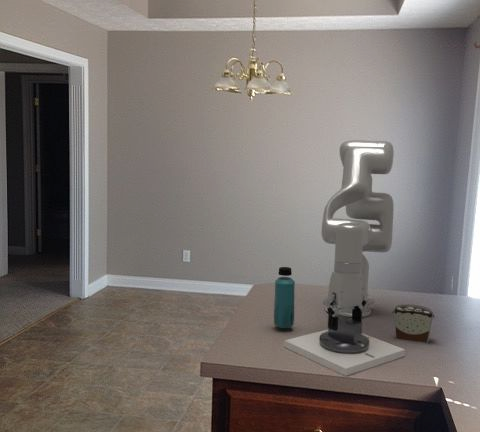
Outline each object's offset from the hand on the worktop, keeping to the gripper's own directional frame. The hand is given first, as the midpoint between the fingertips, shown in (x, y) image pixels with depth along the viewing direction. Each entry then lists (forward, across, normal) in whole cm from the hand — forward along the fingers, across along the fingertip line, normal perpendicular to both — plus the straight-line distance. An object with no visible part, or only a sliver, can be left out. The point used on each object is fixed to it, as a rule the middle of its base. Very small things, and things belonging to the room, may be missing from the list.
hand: (344, 326), depth 160 cm
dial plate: (+8, 0, 0) cm, 8 cm away
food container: (+7, -26, +4) cm, 28 cm away
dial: (+5, 0, 0) cm, 5 cm away
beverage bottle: (+8, +2, -24) cm, 26 cm away
